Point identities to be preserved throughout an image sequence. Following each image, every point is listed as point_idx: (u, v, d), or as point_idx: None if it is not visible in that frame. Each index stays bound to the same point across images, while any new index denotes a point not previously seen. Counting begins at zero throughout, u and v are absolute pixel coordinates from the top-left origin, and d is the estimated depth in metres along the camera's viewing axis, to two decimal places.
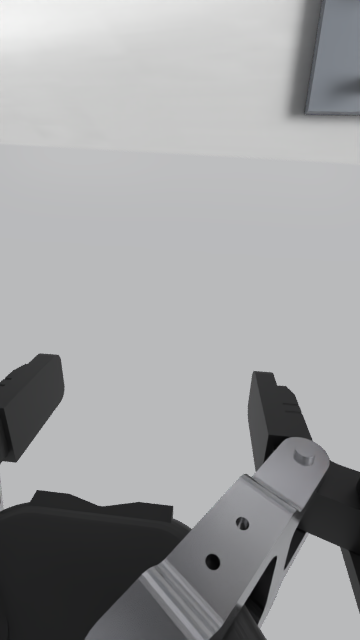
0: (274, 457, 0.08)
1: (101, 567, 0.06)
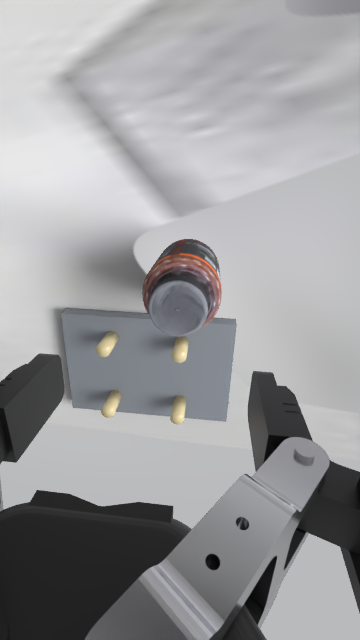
0: (274, 457, 0.08)
1: (101, 568, 0.06)
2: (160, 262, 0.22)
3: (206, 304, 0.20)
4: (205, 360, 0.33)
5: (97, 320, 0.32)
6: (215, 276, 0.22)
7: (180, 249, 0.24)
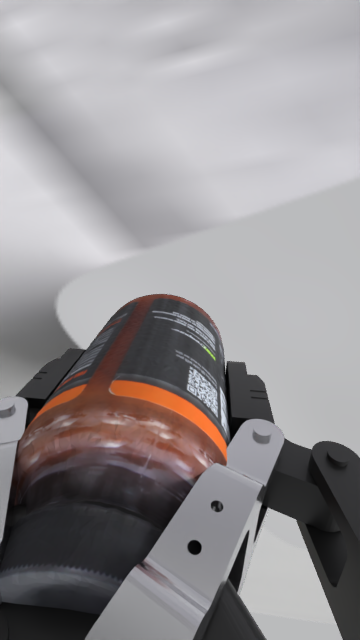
0: (233, 436, 0.09)
1: None
2: (48, 417, 0.07)
3: None
4: None
5: None
6: (216, 462, 0.07)
7: (126, 347, 0.10)
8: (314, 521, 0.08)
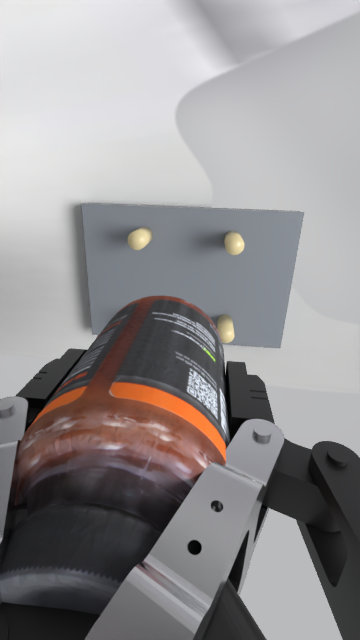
0: (233, 436, 0.09)
1: None
2: (48, 419, 0.07)
3: None
4: (260, 263, 0.26)
5: (126, 212, 0.26)
6: None
7: (126, 349, 0.10)
8: (314, 521, 0.08)
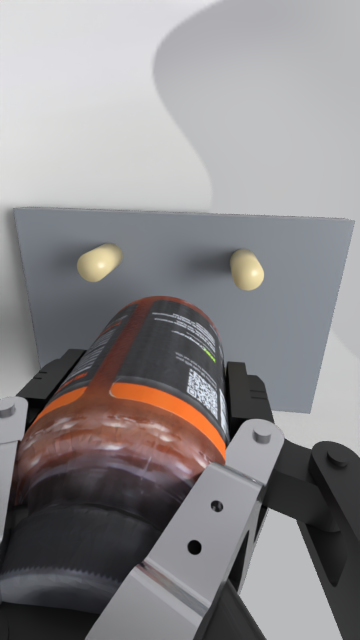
0: (233, 436, 0.09)
1: None
2: (48, 419, 0.07)
3: None
4: (284, 297, 0.18)
5: (82, 220, 0.17)
6: None
7: (126, 349, 0.10)
8: (314, 521, 0.08)
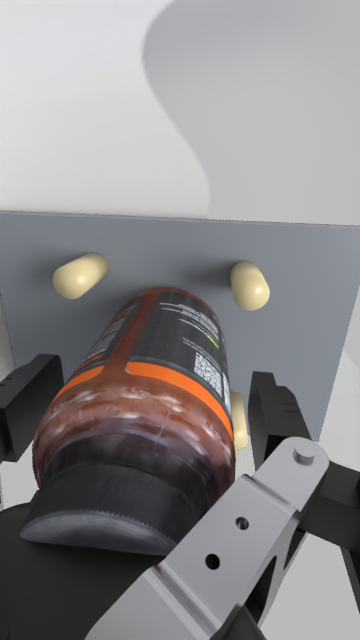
0: (274, 457, 0.08)
1: (100, 568, 0.06)
2: (71, 393, 0.08)
3: None
4: (291, 314, 0.16)
5: (62, 227, 0.15)
6: (221, 434, 0.08)
7: (138, 334, 0.10)
8: None
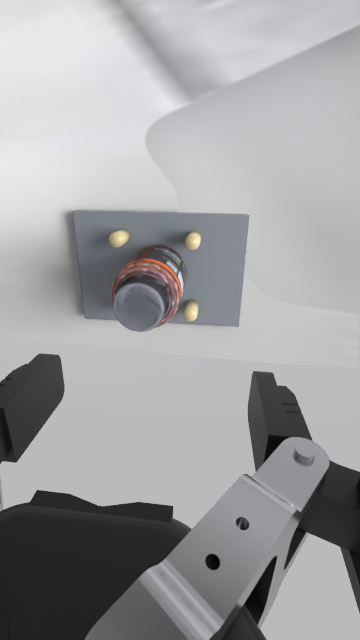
0: (274, 457, 0.08)
1: (100, 568, 0.06)
2: (125, 266, 0.25)
3: (162, 303, 0.23)
4: (217, 257, 0.33)
5: (109, 217, 0.32)
6: (173, 279, 0.25)
7: (146, 254, 0.28)
8: None
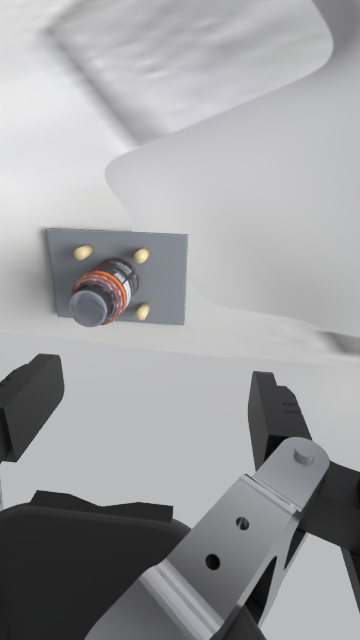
0: (274, 457, 0.08)
1: (100, 568, 0.06)
2: (81, 277, 0.33)
3: (105, 306, 0.31)
4: (164, 268, 0.40)
5: (76, 235, 0.40)
6: (117, 287, 0.33)
7: (100, 267, 0.35)
8: None
